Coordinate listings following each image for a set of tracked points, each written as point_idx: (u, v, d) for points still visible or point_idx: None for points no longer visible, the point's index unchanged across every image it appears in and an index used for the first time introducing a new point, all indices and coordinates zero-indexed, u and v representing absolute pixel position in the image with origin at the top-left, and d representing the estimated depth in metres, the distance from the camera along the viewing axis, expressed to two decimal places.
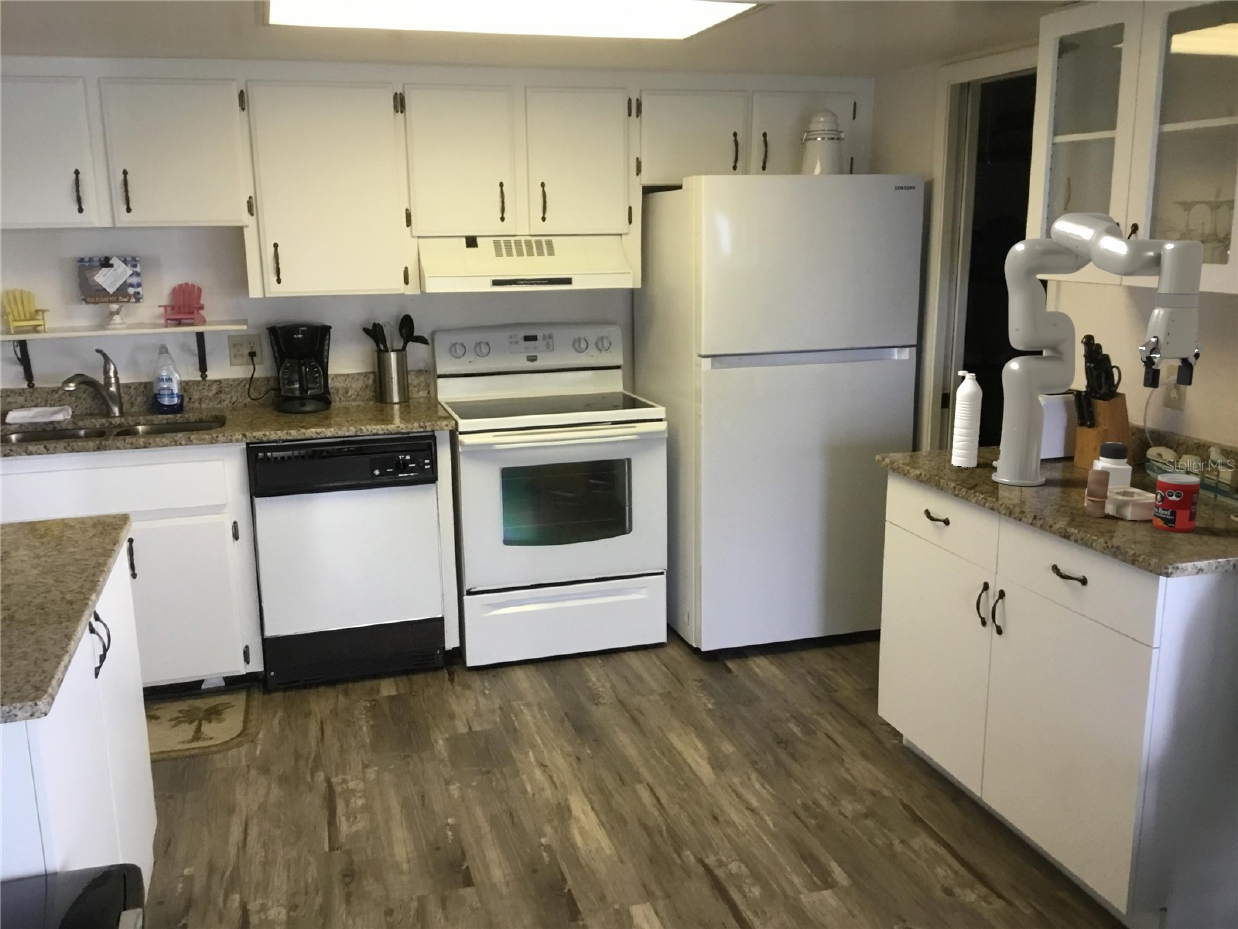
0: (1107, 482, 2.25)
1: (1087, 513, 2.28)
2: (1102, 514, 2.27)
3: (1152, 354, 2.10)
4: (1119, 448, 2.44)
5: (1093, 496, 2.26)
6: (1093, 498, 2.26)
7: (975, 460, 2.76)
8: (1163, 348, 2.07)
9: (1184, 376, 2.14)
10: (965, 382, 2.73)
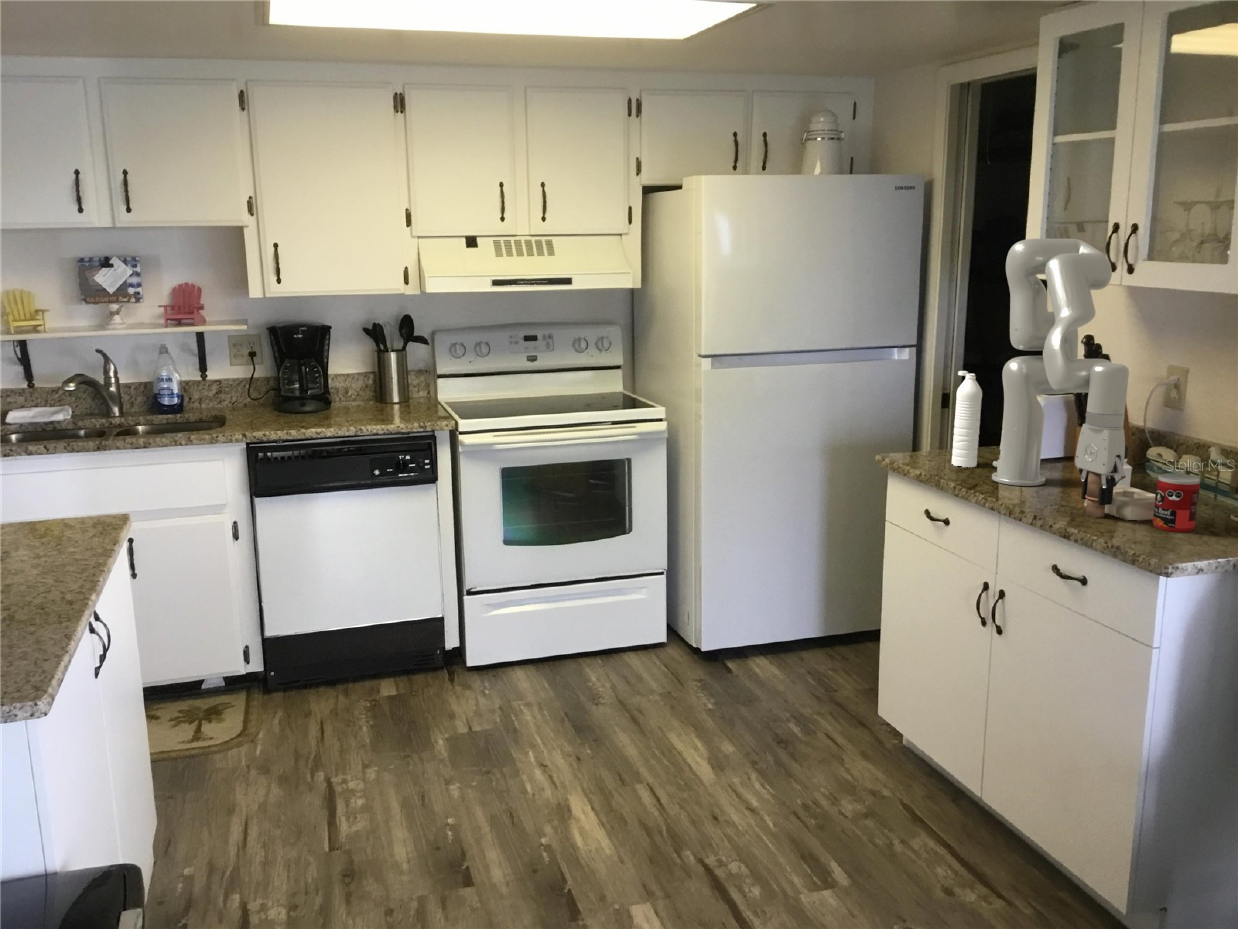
0: None
1: (1087, 513, 2.28)
2: (1102, 514, 2.27)
3: (1107, 474, 2.23)
4: None
5: (1093, 496, 2.26)
6: (1093, 498, 2.26)
7: (975, 460, 2.76)
8: (1123, 464, 2.22)
9: None
10: (965, 382, 2.73)
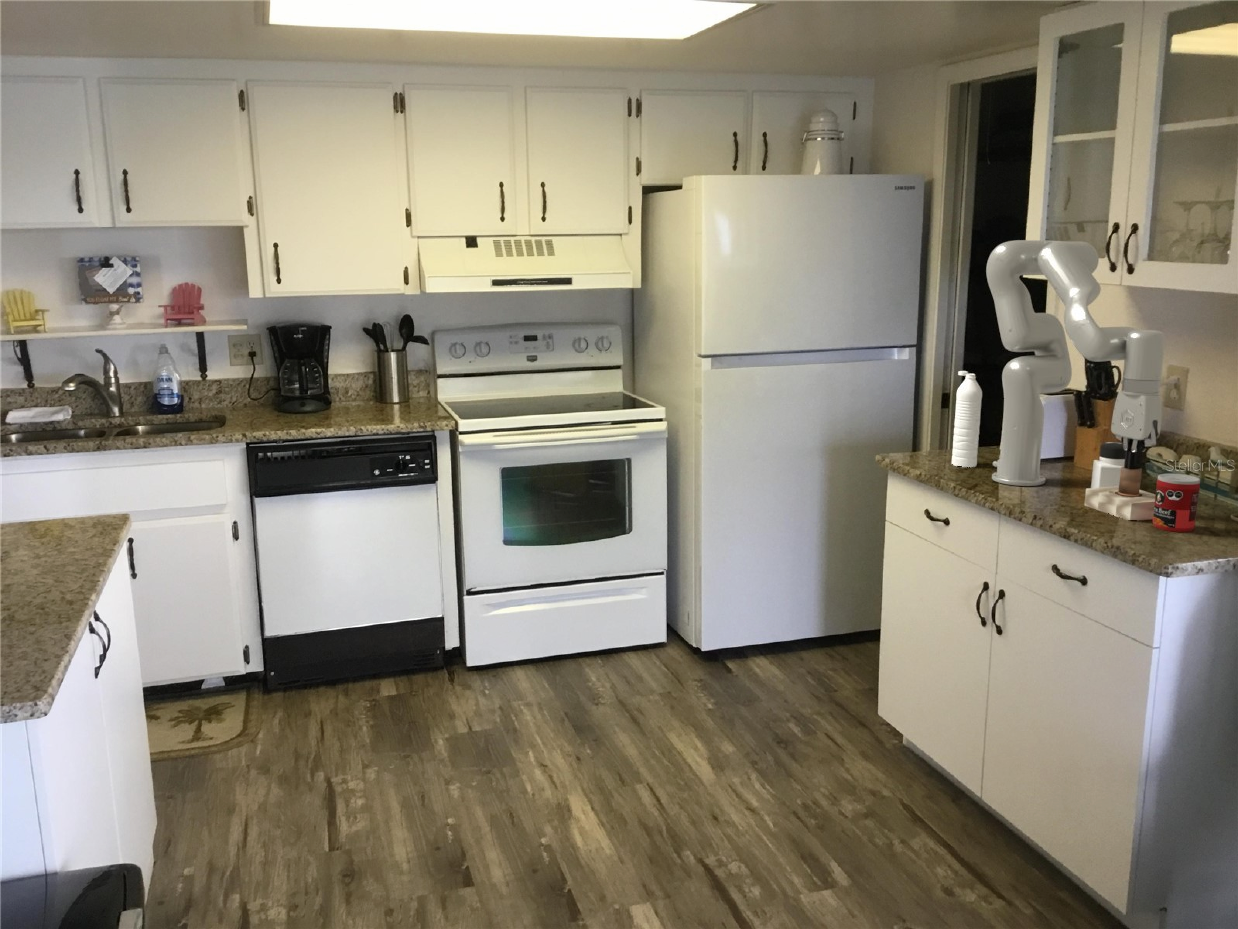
0: (1139, 478, 2.29)
1: None
2: None
3: (1140, 440, 2.26)
4: (1119, 448, 2.44)
5: (1125, 492, 2.29)
6: (1125, 494, 2.29)
7: (975, 460, 2.76)
8: None
9: None
10: (965, 382, 2.73)
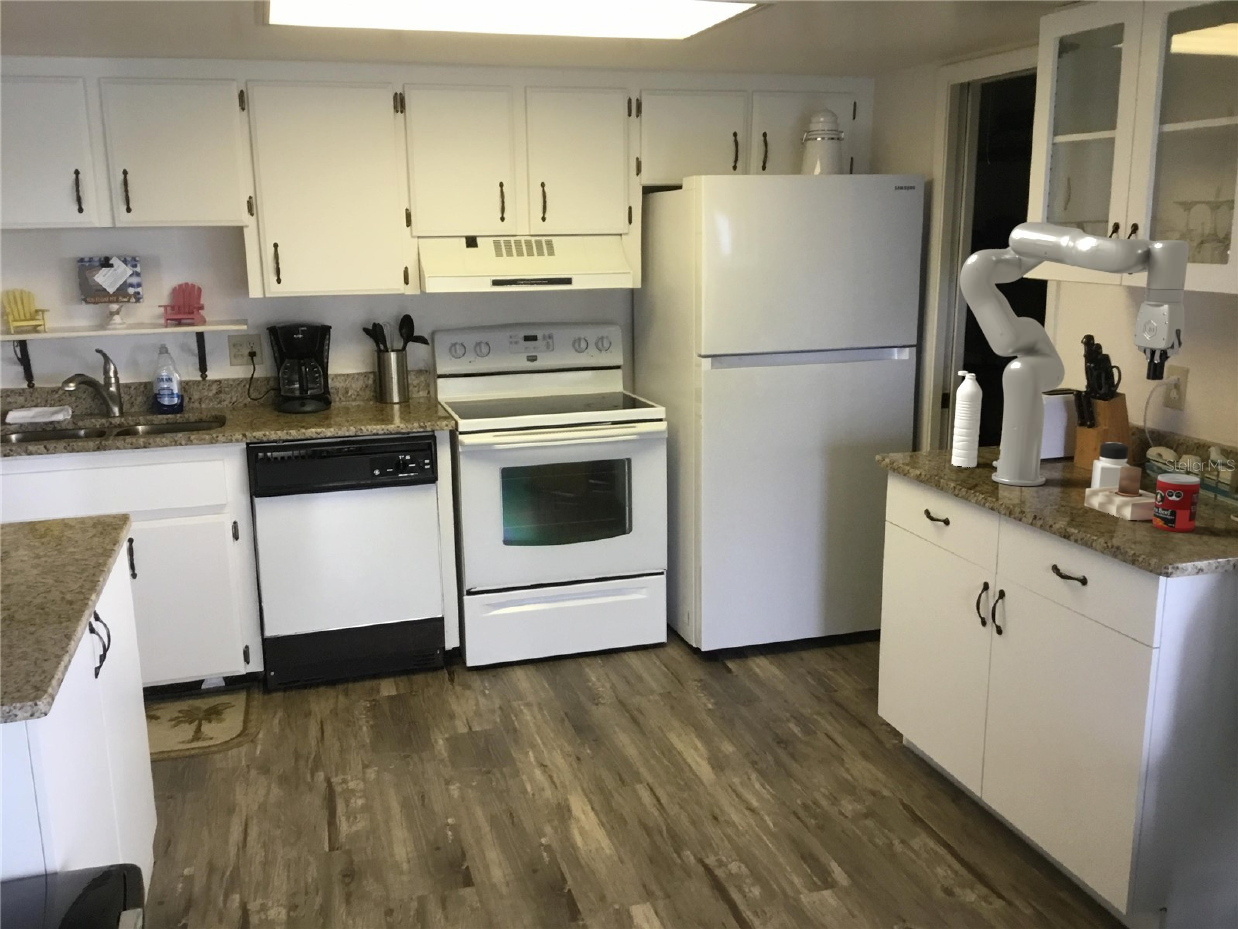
0: (1139, 478, 2.29)
1: None
2: None
3: (1162, 350, 2.28)
4: (1119, 448, 2.44)
5: (1125, 492, 2.29)
6: (1125, 494, 2.29)
7: (975, 460, 2.76)
8: None
9: None
10: (965, 382, 2.73)
